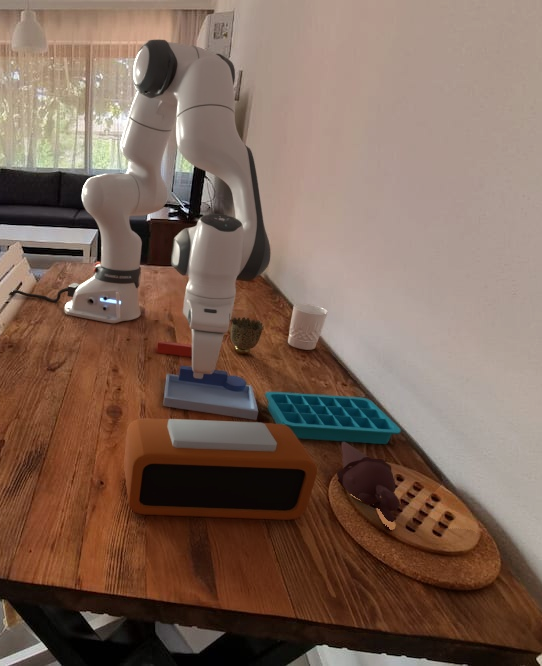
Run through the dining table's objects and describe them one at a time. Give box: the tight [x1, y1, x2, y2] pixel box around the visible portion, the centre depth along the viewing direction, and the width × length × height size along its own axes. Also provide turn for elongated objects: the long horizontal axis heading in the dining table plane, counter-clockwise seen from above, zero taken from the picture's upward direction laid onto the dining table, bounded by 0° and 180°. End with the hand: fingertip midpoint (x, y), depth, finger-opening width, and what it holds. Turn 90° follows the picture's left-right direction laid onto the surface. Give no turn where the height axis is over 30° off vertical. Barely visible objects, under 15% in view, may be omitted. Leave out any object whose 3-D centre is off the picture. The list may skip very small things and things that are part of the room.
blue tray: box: [162, 373, 259, 421], centre depth 90 cm, size 17×10×2 cm, turn 78°
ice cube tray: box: [264, 391, 402, 445], centre depth 84 cm, size 12×20×3 cm, turn 87°
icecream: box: [336, 441, 401, 532], centre depth 66 cm, size 7×7×15 cm
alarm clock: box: [123, 417, 318, 521], centre depth 63 cm, size 24×8×11 cm, turn 90°
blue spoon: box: [178, 365, 247, 392], centre depth 89 cm, size 13×4×3 cm, turn 78°
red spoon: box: [156, 340, 192, 358], centre depth 109 cm, size 13×4×3 cm, turn 78°
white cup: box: [287, 303, 329, 351], centre depth 117 cm, size 8×8×10 cm
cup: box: [230, 317, 265, 355], centre depth 111 cm, size 8×7×8 cm
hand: (197, 373), depth 89 cm, fingers closed on blue spoon
